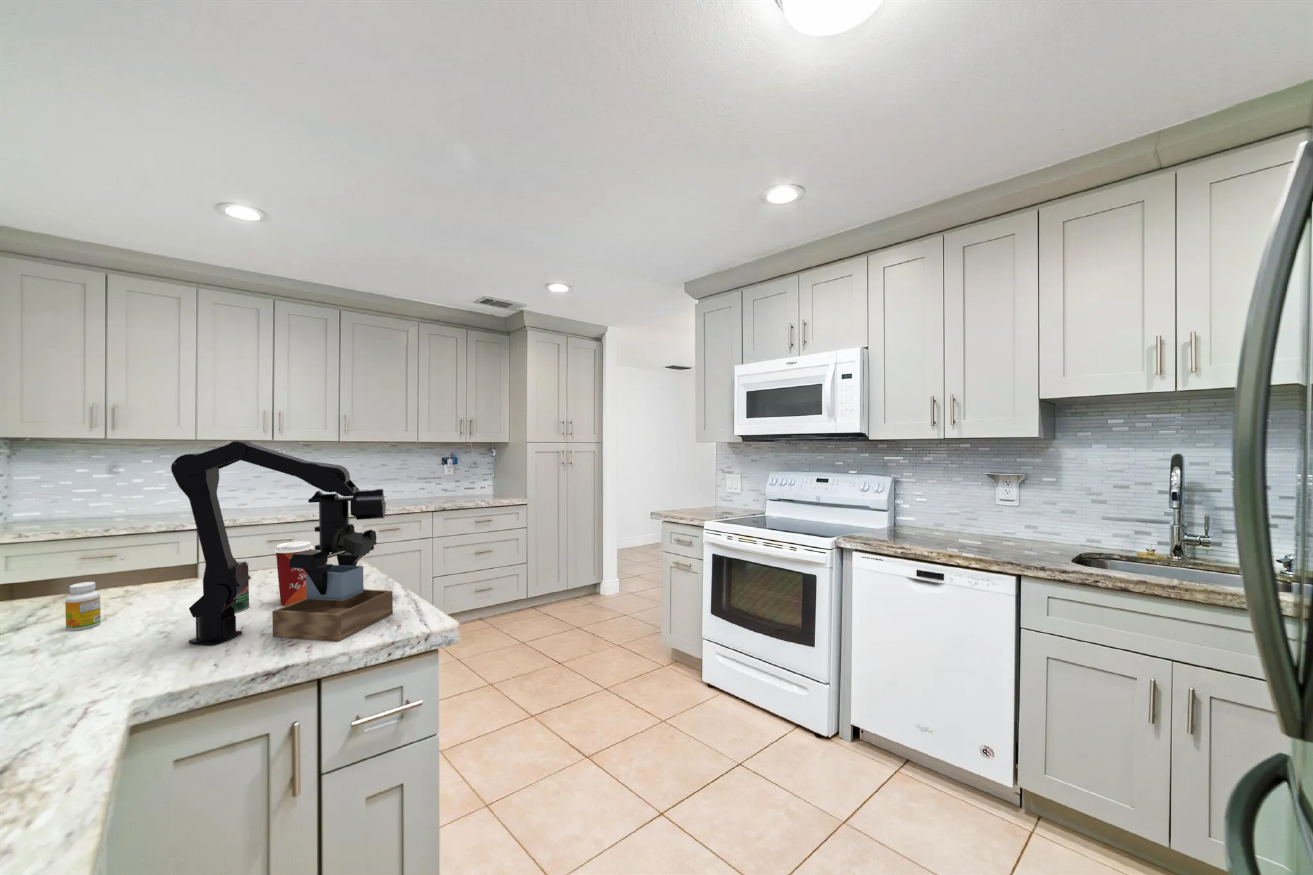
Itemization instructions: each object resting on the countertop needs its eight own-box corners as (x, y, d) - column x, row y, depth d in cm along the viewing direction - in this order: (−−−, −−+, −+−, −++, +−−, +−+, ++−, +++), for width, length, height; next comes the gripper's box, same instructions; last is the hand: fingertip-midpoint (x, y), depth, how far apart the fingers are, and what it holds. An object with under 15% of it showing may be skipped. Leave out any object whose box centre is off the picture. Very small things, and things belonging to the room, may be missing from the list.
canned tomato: (214, 607, 134) (213, 563, 134) (253, 603, 137) (252, 560, 137) (203, 617, 127) (202, 571, 127) (244, 612, 130) (243, 567, 130)
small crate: (306, 598, 119) (306, 571, 119) (329, 590, 125) (329, 564, 125) (342, 600, 117) (341, 573, 117) (363, 592, 124) (363, 566, 124)
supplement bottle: (61, 629, 120) (60, 585, 120) (95, 621, 125) (94, 579, 125) (71, 633, 118) (69, 588, 117) (104, 625, 122) (103, 582, 122)
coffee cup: (299, 607, 134) (298, 547, 133) (267, 607, 134) (266, 547, 134) (321, 596, 142) (320, 540, 142) (290, 596, 142) (289, 540, 142)
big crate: (272, 636, 115) (272, 611, 114) (334, 610, 131) (333, 587, 131) (338, 641, 112) (338, 615, 112) (392, 613, 128) (392, 590, 128)
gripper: (333, 529, 110) (334, 605, 111) (393, 515, 129) (394, 580, 129) (286, 528, 112) (288, 602, 113) (352, 514, 131) (353, 578, 131)
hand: (335, 589), depth 121 cm, fingers closed on small crate, 6 cm apart
